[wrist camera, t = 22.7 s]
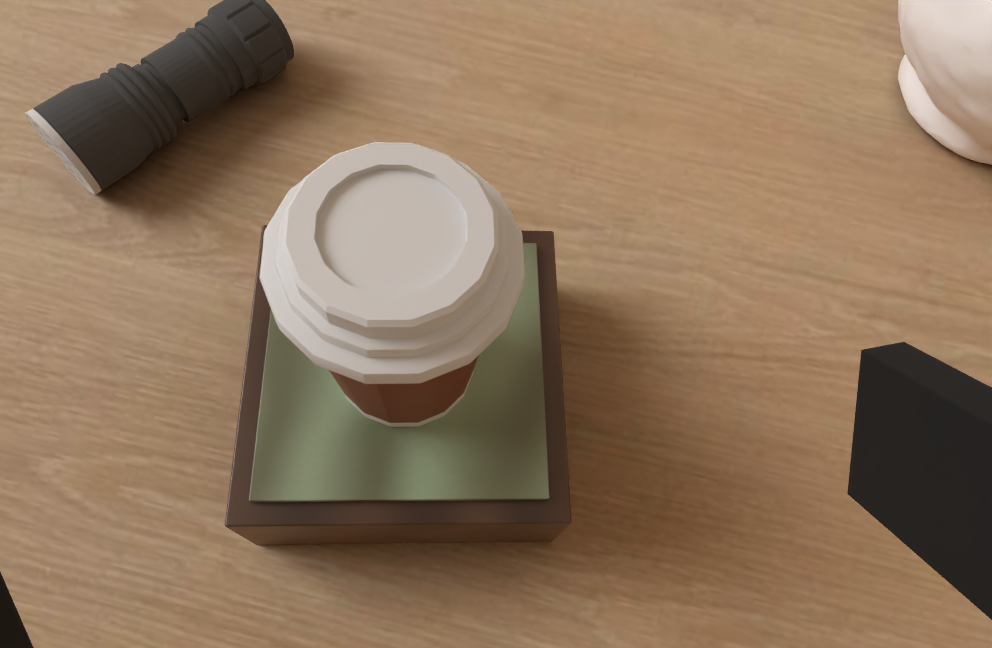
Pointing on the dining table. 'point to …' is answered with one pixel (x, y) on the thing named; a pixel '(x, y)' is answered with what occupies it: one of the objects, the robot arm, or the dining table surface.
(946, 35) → the vase
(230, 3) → the flashlight
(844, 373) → the dining table surface
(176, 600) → the dining table surface
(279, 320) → the coffee cup
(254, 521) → the stand
